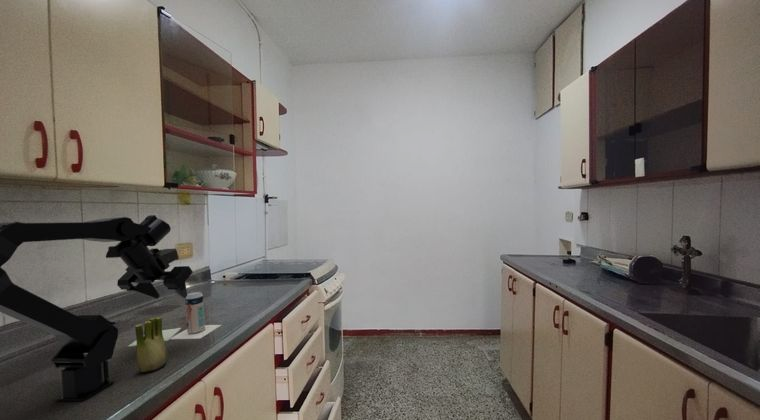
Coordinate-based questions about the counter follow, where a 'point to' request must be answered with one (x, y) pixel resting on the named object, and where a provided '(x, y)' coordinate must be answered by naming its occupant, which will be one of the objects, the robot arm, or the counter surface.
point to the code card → (197, 335)
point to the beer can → (195, 312)
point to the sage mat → (166, 335)
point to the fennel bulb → (150, 345)
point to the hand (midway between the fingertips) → (171, 297)
